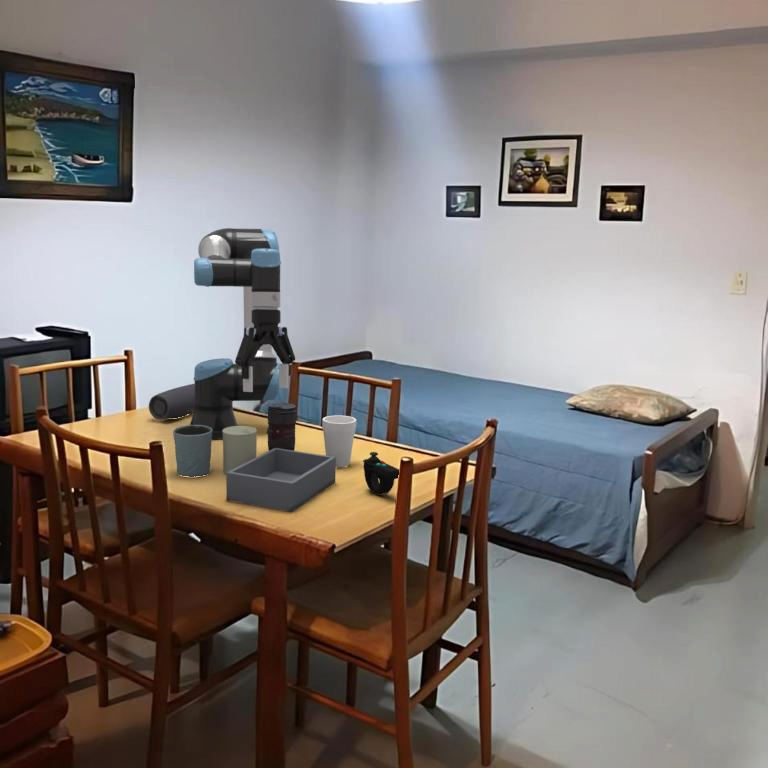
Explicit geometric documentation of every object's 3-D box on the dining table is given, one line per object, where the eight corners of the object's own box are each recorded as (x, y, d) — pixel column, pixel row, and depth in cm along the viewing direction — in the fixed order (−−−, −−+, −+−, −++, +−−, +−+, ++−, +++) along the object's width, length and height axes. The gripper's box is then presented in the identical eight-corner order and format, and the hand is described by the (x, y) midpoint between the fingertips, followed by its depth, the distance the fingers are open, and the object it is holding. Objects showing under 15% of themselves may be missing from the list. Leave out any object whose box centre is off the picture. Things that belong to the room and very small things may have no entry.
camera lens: (290, 460, 232) (291, 409, 229) (263, 458, 234) (263, 407, 231) (299, 453, 240) (300, 403, 237) (272, 450, 241) (273, 401, 238)
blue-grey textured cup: (212, 466, 224) (212, 424, 222) (213, 478, 215) (212, 434, 212) (174, 468, 222) (173, 425, 220) (173, 479, 213) (172, 435, 210)
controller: (373, 486, 213) (374, 449, 211) (402, 499, 203) (403, 461, 201) (359, 488, 211) (360, 451, 208) (388, 503, 201) (389, 464, 199)
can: (241, 478, 215) (241, 434, 213) (215, 472, 220) (214, 428, 218) (264, 470, 223) (264, 427, 220) (238, 464, 228) (238, 422, 225)
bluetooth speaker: (189, 407, 290) (189, 380, 288) (211, 411, 286) (211, 383, 284) (147, 421, 270) (146, 391, 268) (170, 425, 266) (169, 395, 264)
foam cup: (322, 469, 225) (323, 423, 223) (320, 459, 234) (320, 415, 232) (357, 469, 227) (358, 423, 224) (353, 459, 236) (354, 415, 233)
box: (274, 472, 221) (274, 447, 220) (335, 482, 215) (335, 456, 213) (226, 500, 199) (226, 472, 198) (292, 511, 193) (292, 483, 191)
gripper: (241, 308, 201) (242, 394, 203) (308, 309, 222) (308, 387, 224) (220, 308, 206) (221, 392, 208) (287, 309, 226) (287, 385, 228)
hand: (266, 389), depth 216 cm, fingers open, 13 cm apart
